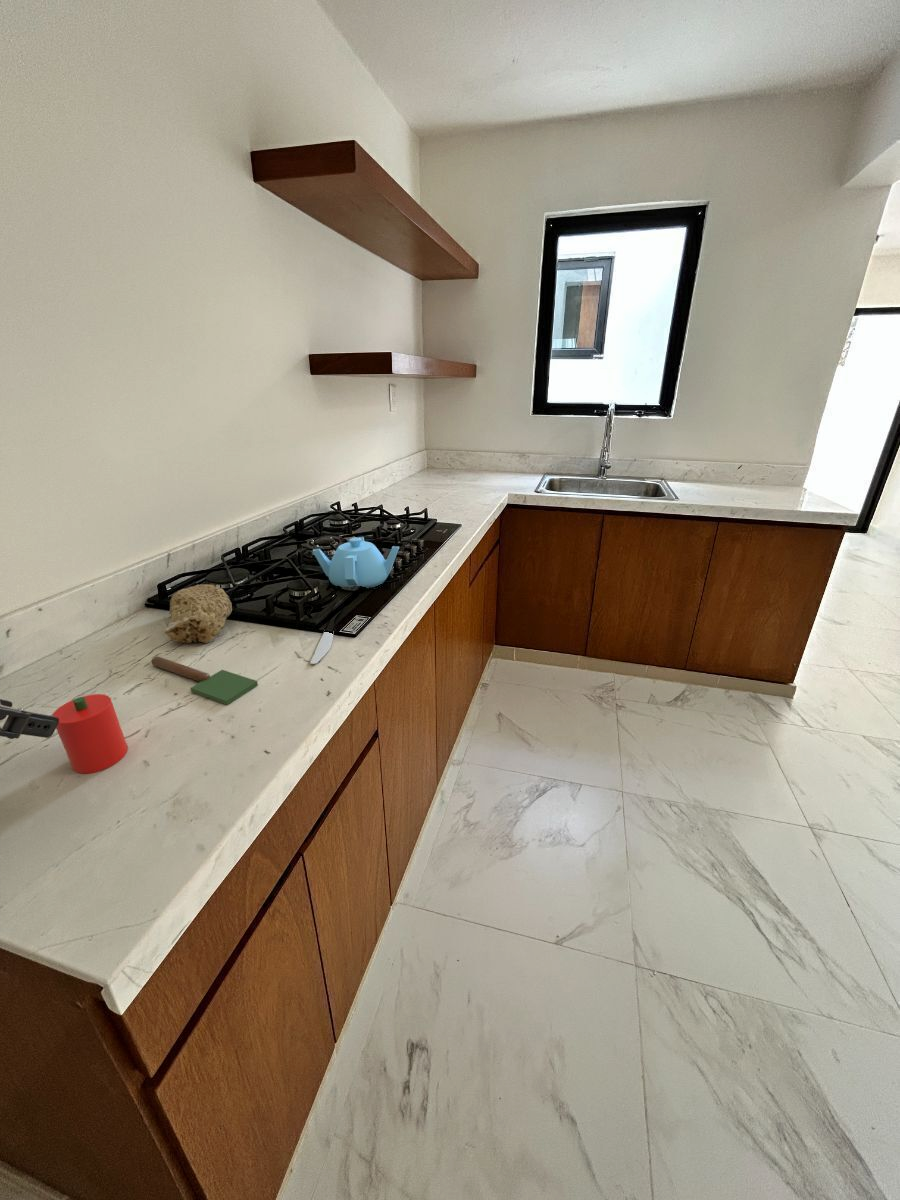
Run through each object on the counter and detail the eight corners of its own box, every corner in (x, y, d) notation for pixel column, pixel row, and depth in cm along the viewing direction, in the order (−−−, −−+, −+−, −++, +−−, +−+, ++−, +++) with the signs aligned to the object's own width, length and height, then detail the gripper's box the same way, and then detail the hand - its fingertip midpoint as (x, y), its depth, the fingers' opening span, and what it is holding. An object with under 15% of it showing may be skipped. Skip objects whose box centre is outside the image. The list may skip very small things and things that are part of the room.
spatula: (138, 672, 83) (135, 664, 82) (171, 656, 88) (168, 648, 87) (226, 705, 74) (224, 696, 73) (258, 685, 79) (256, 676, 78)
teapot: (313, 583, 119) (307, 540, 114) (364, 567, 128) (360, 526, 124) (351, 600, 109) (346, 553, 104) (403, 581, 119) (400, 537, 114)
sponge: (229, 648, 92) (246, 588, 109) (210, 616, 88) (231, 558, 104) (159, 665, 92) (187, 603, 108) (136, 634, 87) (168, 573, 103)
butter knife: (350, 598, 108) (336, 597, 108) (323, 663, 83) (305, 663, 83) (350, 600, 108) (336, 600, 108) (323, 666, 84) (305, 666, 84)
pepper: (62, 764, 63) (37, 706, 59) (110, 736, 68) (90, 681, 64) (89, 779, 60) (65, 720, 57) (137, 749, 65) (118, 693, 62)
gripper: (-99, 657, 40) (88, 699, 54) (-181, 630, 45) (9, 674, 60) (-158, 751, 38) (53, 769, 52) (-238, 711, 43) (-26, 737, 57)
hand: (29, 718), depth 56 cm, fingers open, 8 cm apart
